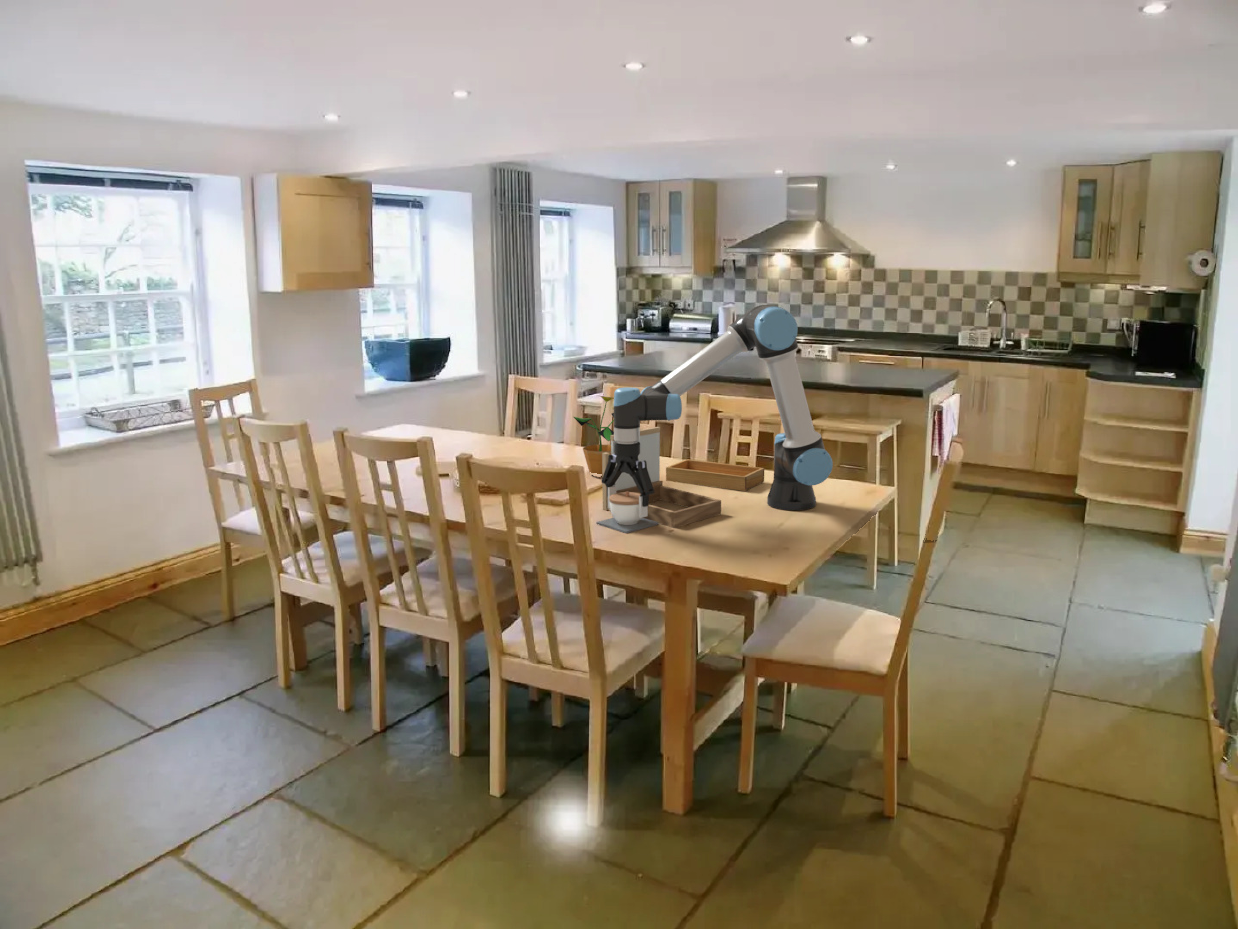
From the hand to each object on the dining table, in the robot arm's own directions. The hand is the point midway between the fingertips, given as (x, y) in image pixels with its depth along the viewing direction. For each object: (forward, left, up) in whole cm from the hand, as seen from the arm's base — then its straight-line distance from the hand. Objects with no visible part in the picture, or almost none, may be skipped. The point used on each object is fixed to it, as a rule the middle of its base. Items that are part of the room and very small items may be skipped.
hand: (627, 512), depth 273 cm
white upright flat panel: (+16, -17, -4) cm, 23 cm away
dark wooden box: (+1, -17, -4) cm, 18 cm away
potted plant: (+52, -35, -4) cm, 63 cm away
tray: (+17, -57, -4) cm, 60 cm away
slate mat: (0, 0, -4) cm, 4 cm away
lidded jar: (0, 0, -3) cm, 3 cm away
